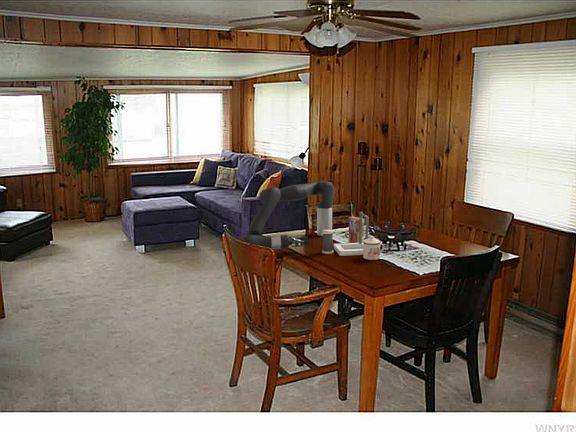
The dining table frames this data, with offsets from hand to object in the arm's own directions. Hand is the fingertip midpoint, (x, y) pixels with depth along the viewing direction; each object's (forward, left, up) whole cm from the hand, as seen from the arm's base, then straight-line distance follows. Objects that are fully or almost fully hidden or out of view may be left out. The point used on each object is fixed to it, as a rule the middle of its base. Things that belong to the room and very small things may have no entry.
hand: (309, 240), depth 307 cm
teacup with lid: (+14, +32, -7) cm, 36 cm away
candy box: (-16, +30, -7) cm, 35 cm away
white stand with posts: (0, +25, -7) cm, 26 cm away
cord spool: (0, +10, -7) cm, 13 cm away
